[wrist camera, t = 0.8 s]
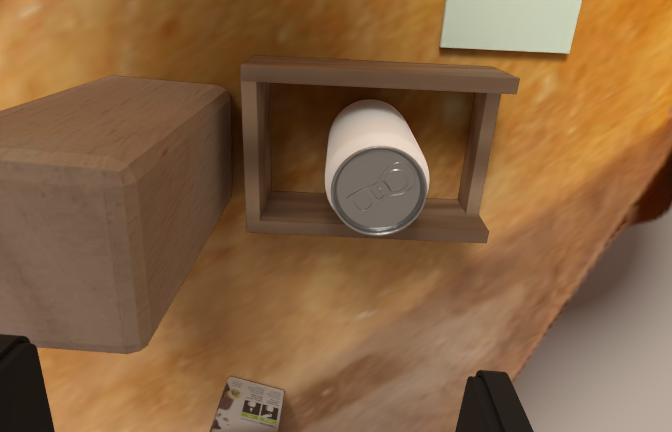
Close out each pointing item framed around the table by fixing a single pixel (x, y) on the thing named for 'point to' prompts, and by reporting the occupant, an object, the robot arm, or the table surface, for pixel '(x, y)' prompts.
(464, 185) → the walnut box
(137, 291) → the block
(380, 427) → the table surface
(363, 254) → the table surface
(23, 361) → the robot arm
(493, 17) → the sage mat
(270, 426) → the coffee box
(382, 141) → the can
